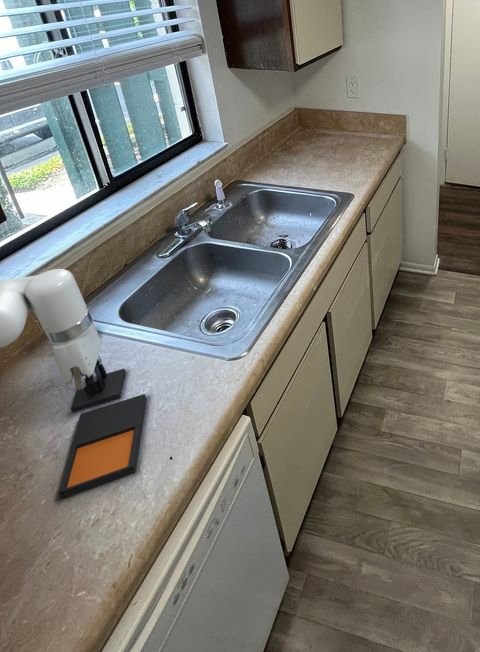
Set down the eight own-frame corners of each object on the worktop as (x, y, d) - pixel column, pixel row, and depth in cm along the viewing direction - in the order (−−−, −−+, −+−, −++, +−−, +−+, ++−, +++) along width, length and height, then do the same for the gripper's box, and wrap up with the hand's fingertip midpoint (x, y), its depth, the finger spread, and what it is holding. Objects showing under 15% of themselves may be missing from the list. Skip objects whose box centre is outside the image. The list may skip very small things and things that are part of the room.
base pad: (60, 499, 79) (57, 493, 78) (83, 419, 92) (80, 413, 91) (135, 472, 83) (133, 466, 82) (146, 399, 96) (144, 393, 95)
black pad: (72, 412, 93) (60, 389, 90) (81, 385, 99) (70, 362, 96) (120, 398, 96) (110, 375, 93) (126, 372, 102) (116, 350, 99)
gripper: (59, 303, 95) (87, 362, 103) (33, 362, 81) (67, 425, 89) (99, 293, 97) (123, 352, 105) (80, 349, 84) (109, 411, 91)
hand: (97, 385), depth 97 cm, fingers closed on black pad, 2 cm apart
